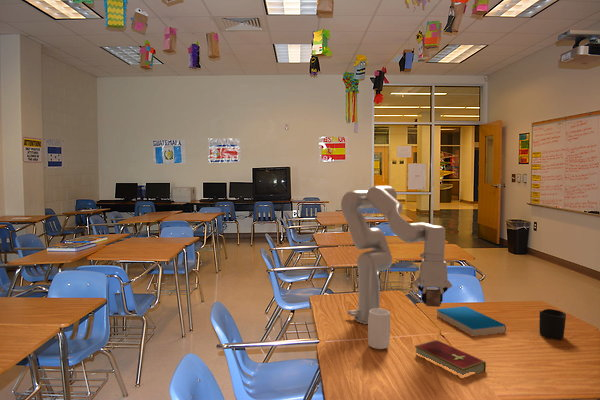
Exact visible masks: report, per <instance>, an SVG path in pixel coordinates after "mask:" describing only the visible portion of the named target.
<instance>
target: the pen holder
mask: <svg viewBox="0 0 600 400" xmlns="http://www.w3.org/2000/svg"><path fill="white" fill-rule="evenodd" d="M566 317H567V314H566V313H565V312H563V311H561V310H559V309H558V310H557V309H553V308H552V309H551V308H545V309H543V310H539V323H538V325H539V334H540V336H542V337H544V338H546V339H550V340H557V341H558V340H563V339H564V337H565V329H566V320H567V318H566Z"/></svg>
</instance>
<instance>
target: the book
mask: <svg viewBox="0 0 600 400" xmlns="http://www.w3.org/2000/svg"><path fill="white" fill-rule="evenodd" d="M436 311H437V312H436V314H437V315H436V316H438V317H437V318H439V317H440V318H439V319H441V318H442V319H441V320H442V321H444V320H445V322H446V321H447V322H446V323H448V322H449V323H448V324H450V325H452V326H453V325H454V327H455V326H456V328H457V327H458V328H457V329H459V330H461V331H462V330H463V332H464V331H465V332H464V333H466V332H467V333H466V334H468V333H469V334H468V335H470V334H471V335H473V336H475V337H479V336H478V335H483V336H489V335H488V334H491V335H498V334H497V333H499V334H505V333H506V331H507V327H506V324H504V323H503V322H500V321H498V320H496V319H493V318H492V317H489V316H487V315H486V314H483V313H482V312H479V311H476V310H475V309H472V308H470V307H468V306H466V305H464V306H456V307H446V308H437V309H436ZM471 335H470V336H471ZM473 336H472V337H473Z"/></svg>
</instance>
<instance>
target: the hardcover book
mask: <svg viewBox="0 0 600 400" xmlns="http://www.w3.org/2000/svg"><path fill="white" fill-rule="evenodd" d="M414 347H415V349H416V350H415V354H416V353H418V354H420V355H422V356H424V357H426V358H429V359H431V360H433V361H435V362H437V363H439V364H442V365H443V366H446V367H448V368H449V369H452V370H454V371H456V372H457V373H460V374H462V375H464V374H466V373H469V372H475V373H477V374H479V373H482V372H484V373H485V372H486V370H487V369H486V368H487V363H486V361H485V360H482V359H481V358H478V357H475V356H474V355H471V354H470V353H468V352H465V351H462V350H460V349H458V348H456V347H454V346H451V345H449V344H446V343H445V342H443V341H441V340H438V339H435V340H434V339H433V340H430V341H426V342H424V343H420V344H416V345H414Z"/></svg>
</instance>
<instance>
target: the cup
mask: <svg viewBox="0 0 600 400" xmlns="http://www.w3.org/2000/svg"><path fill="white" fill-rule="evenodd" d="M390 336H391V313H390V311H389V310H388V309H385V308H382V307H381V308H380V307H379V308H374V309H371V310H370V311H369V317H368V325H367V341H368V342H367V343H368V346H369V347H371V348H374V349H378V350H383V349H388V348H389V346H390Z"/></svg>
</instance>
